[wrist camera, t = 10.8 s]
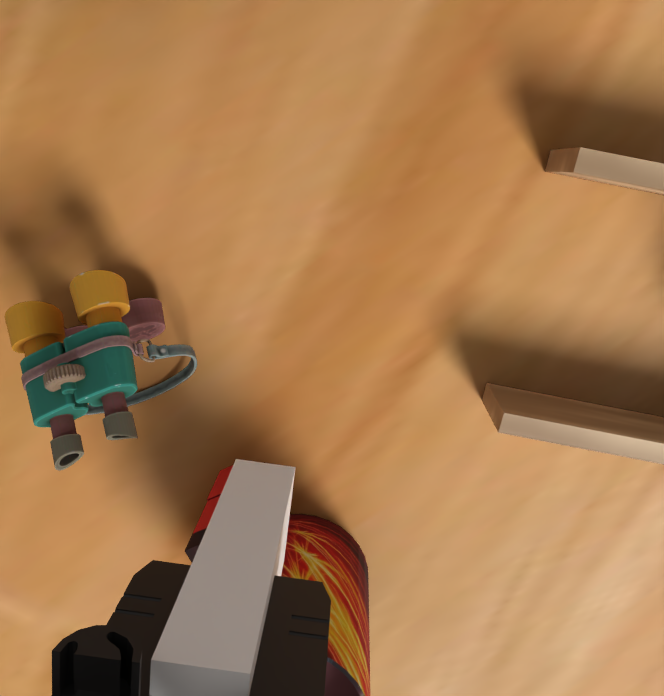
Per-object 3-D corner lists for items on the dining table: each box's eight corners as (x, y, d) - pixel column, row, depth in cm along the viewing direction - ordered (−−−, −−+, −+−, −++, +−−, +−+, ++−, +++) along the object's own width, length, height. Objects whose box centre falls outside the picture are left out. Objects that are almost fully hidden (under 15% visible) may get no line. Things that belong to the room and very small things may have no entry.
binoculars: (201, 306, 41) (111, 246, 32) (239, 437, 38) (153, 413, 29) (80, 361, 43) (-40, 318, 33) (107, 491, 40) (-16, 484, 30)
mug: (230, 453, 42) (181, 562, 30) (396, 563, 43) (409, 707, 32) (155, 553, 44) (82, 690, 33) (315, 654, 46) (300, 817, 34)
